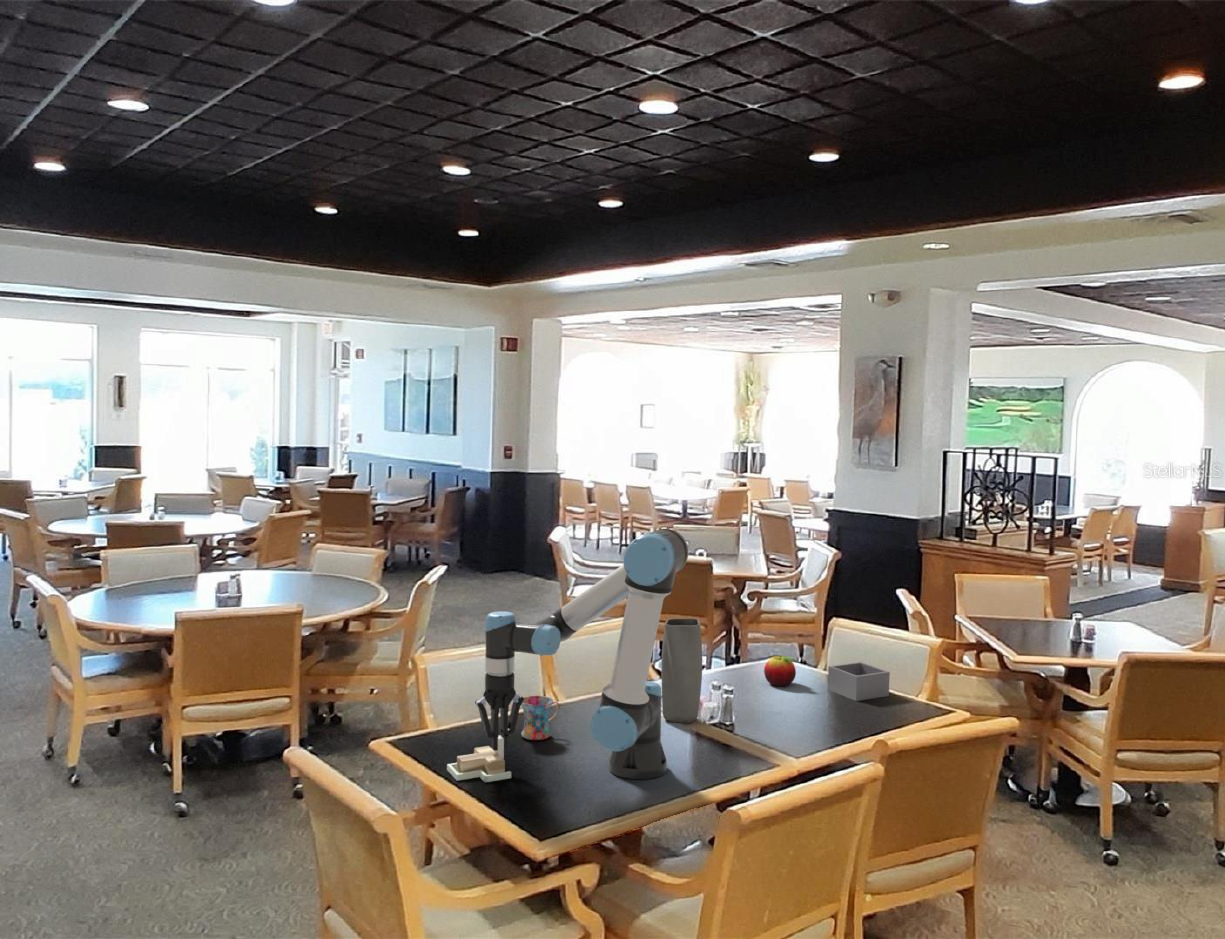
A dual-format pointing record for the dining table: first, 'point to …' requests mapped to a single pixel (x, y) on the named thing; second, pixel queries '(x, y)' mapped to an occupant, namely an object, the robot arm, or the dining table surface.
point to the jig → (476, 774)
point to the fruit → (780, 671)
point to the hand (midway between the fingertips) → (499, 761)
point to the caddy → (858, 681)
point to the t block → (481, 761)
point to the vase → (681, 669)
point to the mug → (537, 717)
